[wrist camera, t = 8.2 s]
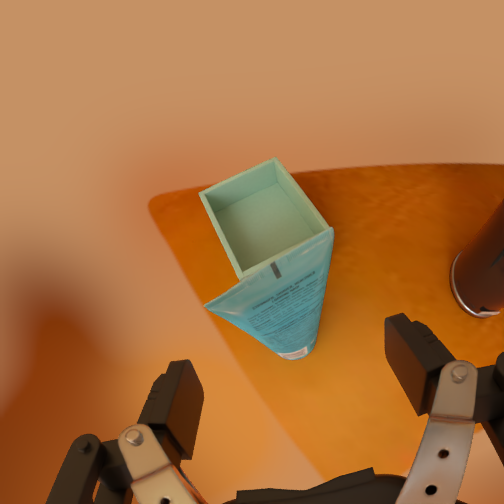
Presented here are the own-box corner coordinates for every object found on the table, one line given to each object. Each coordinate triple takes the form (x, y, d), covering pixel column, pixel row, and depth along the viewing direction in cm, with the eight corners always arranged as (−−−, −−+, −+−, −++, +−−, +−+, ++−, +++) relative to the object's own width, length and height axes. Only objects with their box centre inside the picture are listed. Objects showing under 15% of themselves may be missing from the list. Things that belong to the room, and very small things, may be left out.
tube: (306, 302, 32) (301, 196, 16) (333, 334, 30) (364, 258, 13) (252, 342, 31) (185, 276, 15) (278, 376, 29) (237, 356, 12)
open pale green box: (281, 191, 40) (275, 156, 34) (329, 261, 34) (333, 231, 28) (214, 224, 39) (198, 192, 33) (252, 301, 34) (239, 279, 27)
